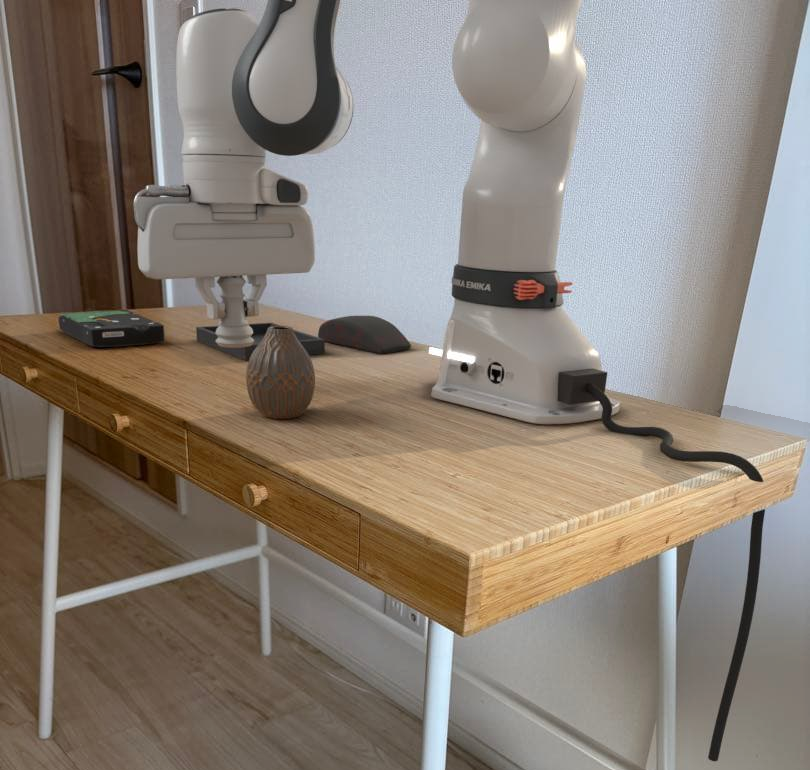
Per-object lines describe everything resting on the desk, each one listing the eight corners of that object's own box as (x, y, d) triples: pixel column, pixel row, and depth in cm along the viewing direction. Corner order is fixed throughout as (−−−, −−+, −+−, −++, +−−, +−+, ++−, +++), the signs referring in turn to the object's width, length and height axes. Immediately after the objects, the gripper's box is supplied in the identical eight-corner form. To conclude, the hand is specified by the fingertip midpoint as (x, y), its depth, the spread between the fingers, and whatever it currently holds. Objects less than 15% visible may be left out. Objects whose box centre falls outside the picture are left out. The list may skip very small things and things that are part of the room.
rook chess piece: (258, 342, 98) (255, 271, 95) (248, 348, 94) (244, 275, 91) (222, 340, 99) (217, 270, 96) (210, 347, 95) (205, 274, 91)
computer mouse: (349, 335, 130) (349, 309, 129) (415, 349, 122) (416, 321, 121) (311, 340, 125) (311, 313, 123) (378, 355, 117) (379, 326, 115)
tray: (324, 353, 116) (324, 339, 115) (245, 360, 109) (245, 345, 108) (271, 335, 127) (271, 322, 126) (196, 341, 120) (196, 327, 119)
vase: (276, 427, 81) (275, 335, 78) (233, 412, 85) (230, 325, 82) (328, 415, 86) (329, 329, 82) (285, 402, 90) (284, 319, 86)
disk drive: (167, 345, 117) (127, 326, 127) (166, 324, 116) (125, 308, 126) (93, 350, 111) (57, 330, 121) (91, 329, 110) (55, 311, 120)
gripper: (143, 184, 82) (156, 327, 87) (320, 188, 93) (323, 314, 99) (120, 184, 86) (134, 320, 92) (292, 187, 98) (296, 308, 103)
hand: (233, 317), depth 95 cm, fingers closed on rook chess piece, 3 cm apart
